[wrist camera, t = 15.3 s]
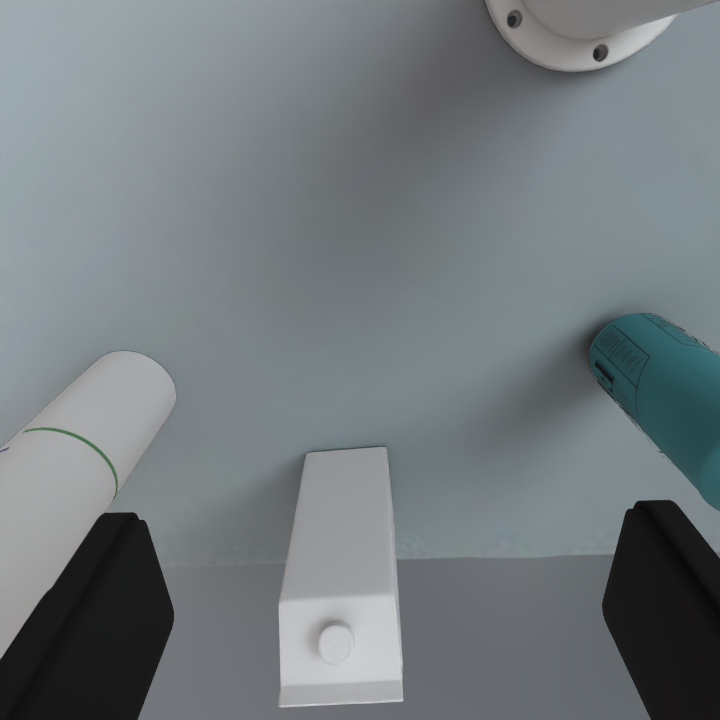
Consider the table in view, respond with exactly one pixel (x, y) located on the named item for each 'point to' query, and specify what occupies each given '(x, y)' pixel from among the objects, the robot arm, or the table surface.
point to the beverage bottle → (665, 392)
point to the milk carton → (341, 585)
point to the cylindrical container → (72, 473)
